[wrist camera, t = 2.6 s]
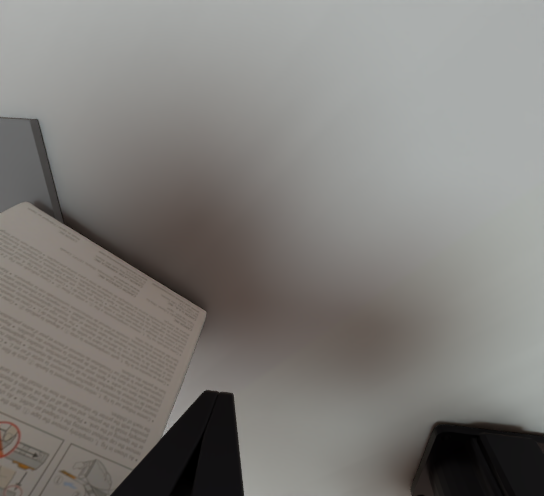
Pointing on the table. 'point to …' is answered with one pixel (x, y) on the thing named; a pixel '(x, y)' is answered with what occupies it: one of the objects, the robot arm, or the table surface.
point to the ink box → (82, 359)
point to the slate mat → (25, 167)
